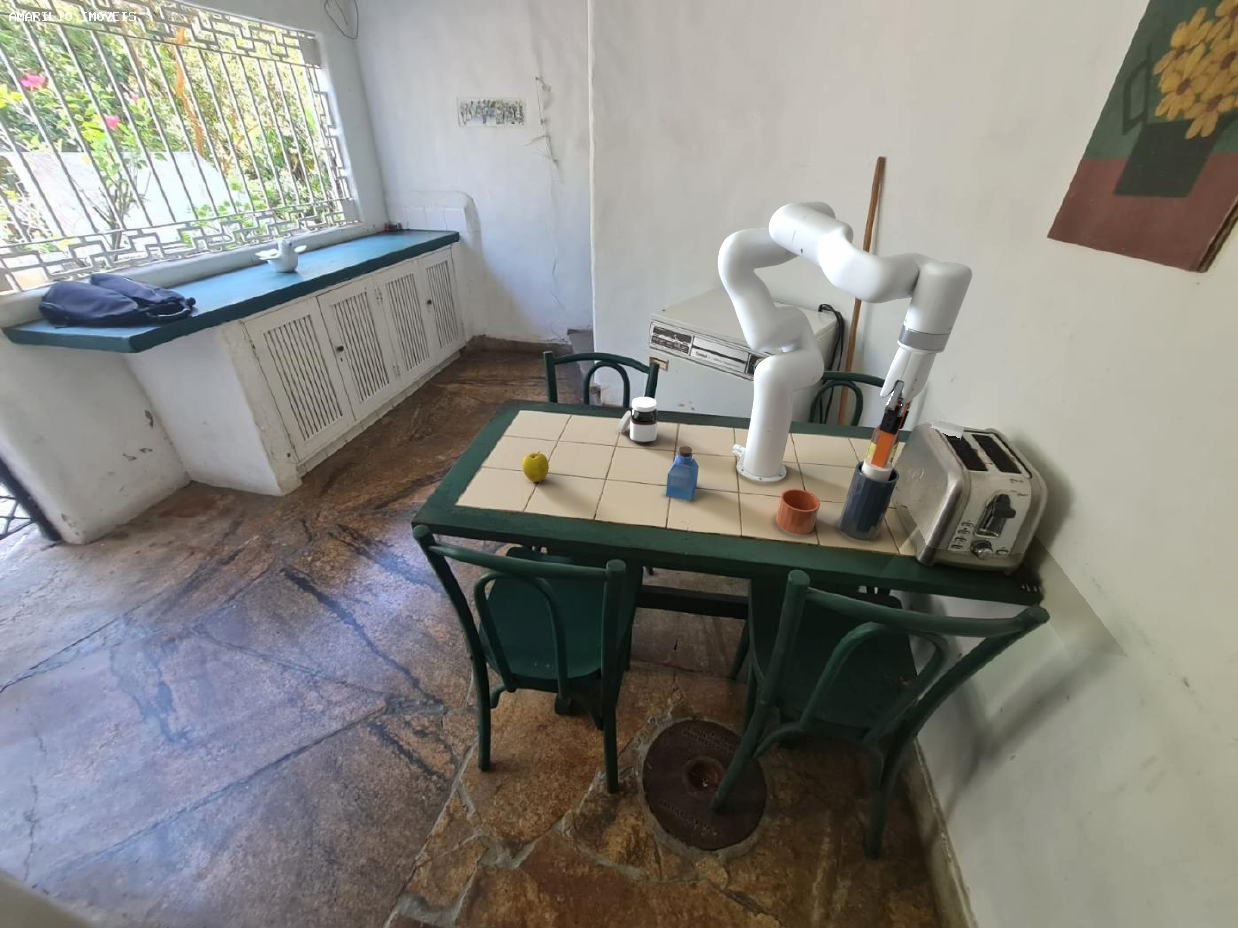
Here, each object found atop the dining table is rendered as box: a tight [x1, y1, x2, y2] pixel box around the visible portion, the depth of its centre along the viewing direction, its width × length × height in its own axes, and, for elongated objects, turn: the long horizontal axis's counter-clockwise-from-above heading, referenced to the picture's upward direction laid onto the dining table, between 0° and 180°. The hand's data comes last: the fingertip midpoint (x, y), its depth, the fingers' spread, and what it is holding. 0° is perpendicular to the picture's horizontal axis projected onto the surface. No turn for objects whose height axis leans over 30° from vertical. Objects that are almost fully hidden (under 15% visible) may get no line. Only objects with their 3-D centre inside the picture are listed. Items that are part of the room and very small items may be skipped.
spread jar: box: [616, 396, 659, 446], centre depth 145 cm, size 12×11×12 cm
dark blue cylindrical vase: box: [837, 460, 900, 542], centre depth 109 cm, size 8×8×16 cm
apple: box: [521, 450, 550, 483], centre depth 127 cm, size 6×6×8 cm
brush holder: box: [775, 488, 821, 535], centre depth 113 cm, size 8×8×7 cm
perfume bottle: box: [665, 445, 700, 502], centre depth 122 cm, size 6×6×12 cm
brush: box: [861, 403, 909, 481], centre depth 102 cm, size 5×5×20 cm
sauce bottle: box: [864, 406, 901, 465], centre depth 126 cm, size 6×6×20 cm
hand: (890, 428), depth 100 cm, fingers closed on brush, 2 cm apart
